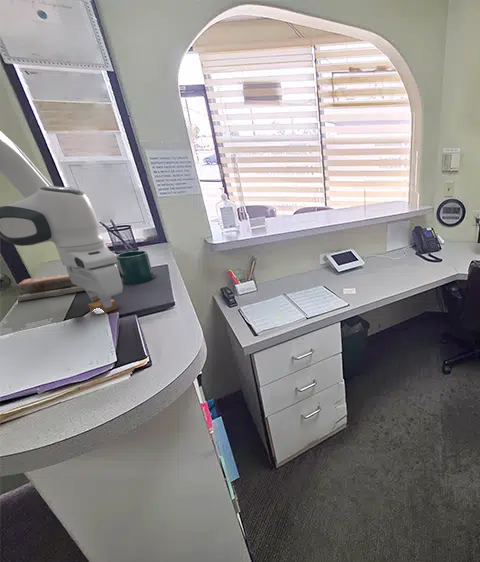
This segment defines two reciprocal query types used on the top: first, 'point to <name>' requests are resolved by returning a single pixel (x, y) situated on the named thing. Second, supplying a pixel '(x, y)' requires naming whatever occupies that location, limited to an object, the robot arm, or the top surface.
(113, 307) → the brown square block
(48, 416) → the top surface
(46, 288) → the packaged product
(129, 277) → the tea cup
